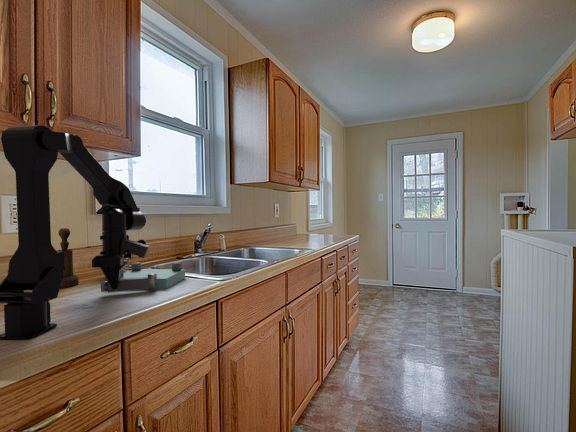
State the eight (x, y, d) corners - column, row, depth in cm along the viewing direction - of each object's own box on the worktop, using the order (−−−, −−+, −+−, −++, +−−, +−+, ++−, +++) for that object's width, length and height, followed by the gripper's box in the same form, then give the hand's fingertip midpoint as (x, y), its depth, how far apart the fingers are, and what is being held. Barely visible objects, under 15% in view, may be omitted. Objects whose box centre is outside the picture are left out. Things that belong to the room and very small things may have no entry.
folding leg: (157, 287, 90) (156, 273, 90) (156, 290, 87) (156, 274, 87) (103, 293, 85) (102, 277, 85) (101, 295, 82) (100, 279, 82)
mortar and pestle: (47, 287, 93) (45, 228, 93) (65, 282, 100) (63, 227, 99) (66, 288, 92) (64, 228, 92) (83, 283, 99) (82, 227, 98)
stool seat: (166, 288, 90) (166, 270, 90) (107, 288, 91) (107, 270, 91) (185, 277, 104) (184, 261, 104) (134, 277, 105) (133, 262, 105)
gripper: (142, 232, 76) (142, 294, 76) (151, 229, 94) (151, 280, 94) (90, 233, 73) (91, 298, 73) (110, 230, 91) (110, 283, 91)
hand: (114, 289), depth 83 cm, fingers closed
